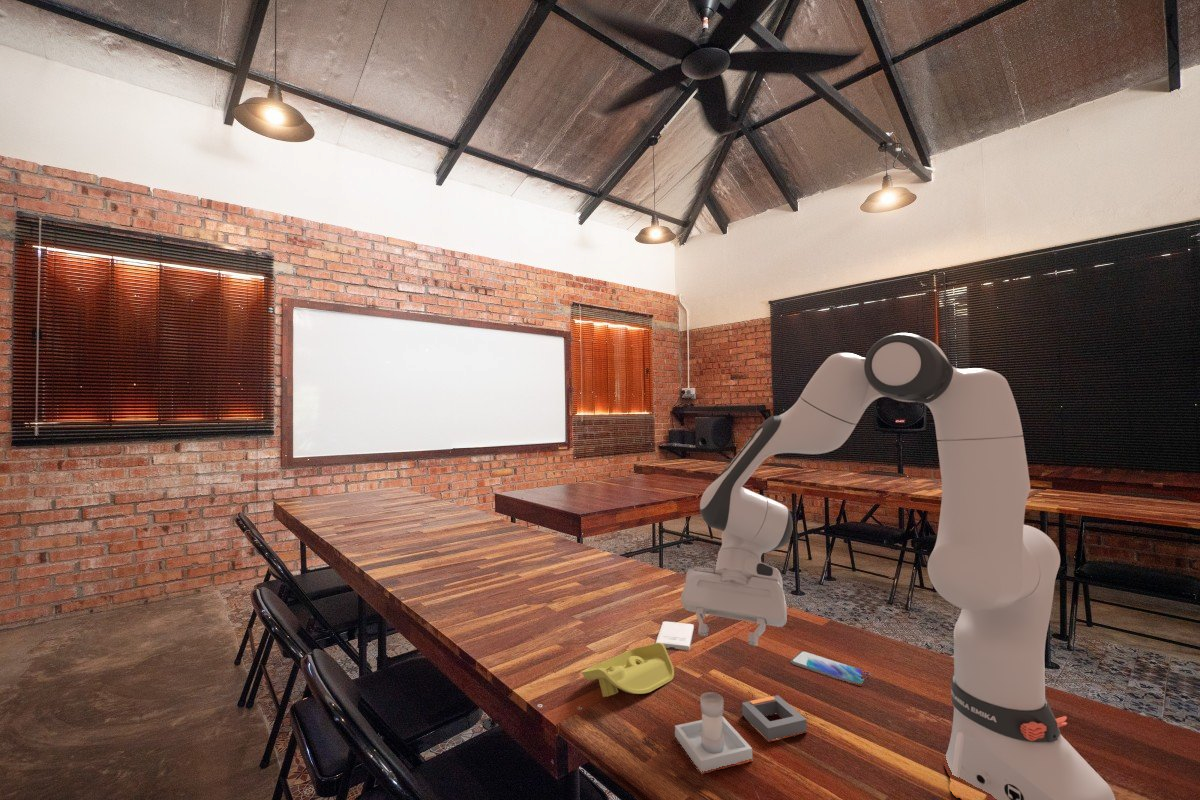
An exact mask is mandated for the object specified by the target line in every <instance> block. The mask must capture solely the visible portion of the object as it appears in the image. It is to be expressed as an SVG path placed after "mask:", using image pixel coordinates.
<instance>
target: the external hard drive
mask: <svg viewBox="0 0 1200 800" xmlns="http://www.w3.org/2000/svg"><path fill="white" fill-rule="evenodd" d="M694 629H695V626H694V624H693V623H683V622H676V621H662V622H661V627H660V629H659V632H658V635H657V637H656V640H655V643H662V644H664V646H665V648H666V649H673V650H674V649H675V650H681V651H682V650H683V651H690V649H691V644H692V641H693V640H692V639H693V633H694Z"/></svg>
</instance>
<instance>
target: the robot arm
mask: <svg viewBox="0 0 1200 800" xmlns="http://www.w3.org/2000/svg"><path fill="white" fill-rule="evenodd" d="M1014 397H1015V396H1014V395H1013V392H1012V389H1011V387H1010V384H1009V382H1008V380H1007V379H1006V377H1005V376H1003V375H1002V374H1001V373H998V372H996V371H995V370H992V369H986V368H978V367H972V368H957V367H955V366H953V365H952V363H951V361H950V359H949V357H948V356H947V354H946V353H945V352H944V351H943V349H941V347H939V345H937V344H936V343H935V342H933V341H931V339H927V338H925V337H922V336H920V335H918V334H916V333H915V334H914V333H910V332H909V333H908V332H898V333H893V334H892V333H891V334H890V335H889V334H888V335H886V336H884V337H883V338H881V339H878V340H877V341H876V342H875V343H874V344H872V346H871V347H870V349H868V351H867V353H866V355H865V357H863V356H861V355H858V354H855V353H851V352H837V353H834V354H832V355H830V356H828V357H827V359H825V361H823V363H822V364H821V365H820V366H819V368H818V369H817V370H816V371H815V372H814V374H813V376H812V377H811V378H810V380H809V382H808V383H807V384H806V385H805V387H804V389H803V390H802V393H801V394H800V396H799V397H798V398H797V400H796V402H795V403H794V404H793V405H792V406H791V407H790V408H789V409H788V410H786V411H785V412H783V413H781V414H779V415H772V416H769V417H768V418H767V419H766V420H764V421H763V423H761V424H760V426H758V428H757V429H755V431H754V432H753V433H752V435H751V436H750V437H749V438H748V439H747V441H746V442H745V443H744V444H743V446H742V447H741V448H740V449H739V451H738V452H737V453H736V455H735V456H734V457H733V458H732V460H730V462H729V463H728V464H727V466H726V467H725V468H724V469H723V470H722V472H721V473H720V474H719V475H718V476H717V477H715V479H714V480H713V481H711V483H710V484H709V485H708V486H707V487H706V489H705V490H704V492H703V494H702V496H701V498H700V500H699V505H698V509H699V512H700V516H701V517H702V519H703V521H704V523H705V524H706V525H707V526H708V527H710V528H713V529H716V530H718V531H721V547H720V548H719V550H718V554H717V558H716V565H715V568H712V567H702V566H694V567H693V568H690V569H689V570H687V571H686V576H685V584H684V586H683V588H682V591H681V594H680V602H681V604H682V607H683V608H684V609H685V610H686V611H687V612H692V613H695V615H696V618H697V620H698V623H699V624H698V629H697V633H698V635H699V636H703V637H708V634H709V633H708V632H709V626H708V624H707V623H704V621H703V619H706V616H707V615H709V616H715V617H721V618H727V619H733V620H738V621H743V622H748V623H749V622H750V623H755V624H756V625H757V627H756V629H755V630H754V631H753V632H751V631H748V637H747V643H748V645H750V646H753V647H758V645H759V638H760V637H761V636H762V635H763V634H764V632H765V631H767V630H766V629H767V626H772V627H778V628H783V627H784V626H785V625H786V624H787V620H788V619H787V618H788V617H787V616H788V614H787V613H788V610H787V609H788V607H787V601H786V596H785V591H784V589H783V587H784V586H783V577H782V574H781V572H780V570H779V569H778V568H776V567H774V566H772V565H770V564H767V563H764V562H763V561H762V555H763V554H764V553H766V554H767V553H771V552H773V551H776V550H778V549H780V548H782V547H784V546H786V545H787V544H788V542H789V541H790V540H791V536H792V533H793V528H794V527H793V526H794V521H793V516H792V513H791V511H790V509H789V508H788V506H786V505H784V504H783V503H781V502H779V501H776V500H774V499H772V498H769V497H768V496H765V495H762V494H759V493H757V492H754V491H752V490H750V489H748V488H746V487H743V486H744V485H745V484H746V482H748V480H749V479H750V477H752V475H754V473H755V472H756V471H757V469H758V468H759V466H761V464H762V463H763V462H764V461H765V460H766V459H767V458H769V457H771V456H774V455H778V454H779V455H780V454H801V455H820V454H821V455H822V454H826V453H830V452H833V451H835V450H837V449H839V448H841V446H843V444H845V442H846V441H847V440H848V439H849V438H850V436H851V434H852V433H853V431H854V429H855V428H856V426H857V424H858V423H859V421H860V420H861V418H862V416H863V414H864V413H865V411H866V409H867V408H868V407H869V406H870V405H871V404H872V403H873V402H874V401H875V400H877V399H879V398H886V399H887V398H889V399H892V400H895V401H898V402H903V403H904V402H905V403H922V404H924V405H926V406H927V407H928V409H929V410H930V412H931V414H932V416H933V417H932V418H933V421H934V426H935V436H936V443H937V452H938V460H939V470H940V477H941V502H940V503H941V504H940V511H939V512H940V513H939V519H938V528H937V537H936V541H935V544H934V546H933V547H934V548H933V550H932V552H931V553H930V555H929V557H928V560H927V574H928V578H929V580H930V583H931V584H932V586H933V588H934V590H935V591H936V592H937V593H938V594H939V595H940V597H942V598H943V599H944V600H945V601H946V602H948V603H950V604H951V605H953V606H955V607H958V608H959V609H961V610H960V614H959V616H958V619H957V620H956V622H955V624H954V628H953V669H954V671H953V675H952V677H951V683H950V684H951V685H950V692H951V694H950V697H951V698H950V699H951V703H952V706H953V716H952V727H951V728H952V729H951V733H950V739H949V744H948V748H947V751H946V754H945V756H946V760H947V763H948V766H949V768H950V770H951V772H952V775H954V776H956V777H958V778H959V777H960V778H961V779H963V780H965V781H966V782H968V783H970V784H972V785H973V786H975V787H977V788H980V789H982V790H983V791H985V792H987V793H989V794H991V795H992V796H993V797H994V798H995V799H997V800H1116V797H1115V794H1114V792H1113V790H1112V788H1111V786H1110V785H1109V784H1108V783H1107V782H1106V781H1105V780H1104V779H1103V778H1102V776H1101V775H1099V773H1098V772H1097V771H1095V770H1094V768H1093V767H1092V766H1091V765H1090V764H1089V763H1088V762H1087V761H1086V760H1085V759H1084V758H1083V757H1082V756H1081V755H1080V753H1079V752H1078V751H1077V750H1076V749H1075V747H1073V746H1072V745H1071V744H1070V743H1069V741H1068V740H1067V739H1065V737H1063V735H1062V734H1061V730H1060V728H1061V727H1064V726H1067V725H1068V722H1066V721H1067V719H1068V717H1067V716H1065V715H1063V716H1061V717H1057V718H1056V717H1055V715H1054V713H1053V710H1052V708H1051V705H1050V704H1049V701H1048V700H1047V699H1046V678H1045V677H1046V675H1045V673H1046V671H1045V669H1046V668H1045V662H1046V661H1045V657H1046V656H1045V654H1046V652H1045V651H1046V642H1047V641H1046V640H1047V636H1048V635H1047V633H1048V630H1049V624H1050V619H1051V616H1052V615H1051V614H1052V607H1053V602H1054V601H1053V600H1054V593H1055V583H1056V580H1057V579H1056V578H1057V574H1058V571H1059V568H1060V565H1061V554H1060V551H1059V549H1058V547H1057V545H1056V543H1055V542H1054V540H1052V538H1050V537H1049V536H1048V535H1047V534H1046V533H1045V532H1043V531H1042V530H1040V529H1038V528H1036V527H1034V526H1031V525H1028V524H1025V513H1026V505H1027V502H1028V498H1029V495H1030V492H1031V482H1030V474H1029V467H1028V466H1029V465H1028V460H1027V454H1026V446H1025V439H1024V432H1023V427H1022V422H1021V417H1020V413H1019V410H1018V406H1017V403H1016V400H1015V398H1014Z"/></svg>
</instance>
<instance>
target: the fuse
mask: <svg viewBox="0 0 1200 800" xmlns="http://www.w3.org/2000/svg"><path fill="white" fill-rule="evenodd" d="M700 712H701V720H702V731H701V746H702V748H703V749H704V750H705V751H706V752H709V753H713V754H717V753H721V752H722V751H723V750H724V734H723V720H722V716H723V714H724V697H723V696H722V695H721V694H718V693H716V692H712V691H711V692H709V691H708V692H705V693H704V692H703V694H701V695H700Z"/></svg>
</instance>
